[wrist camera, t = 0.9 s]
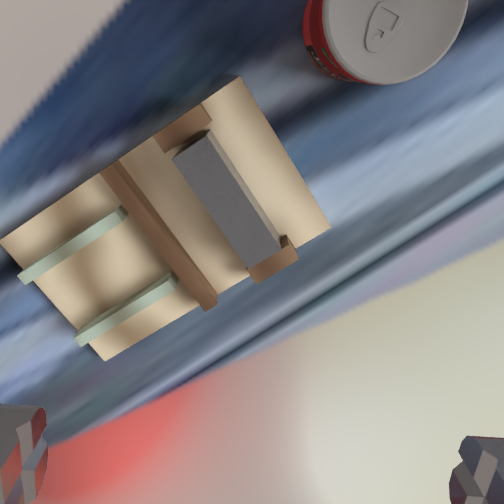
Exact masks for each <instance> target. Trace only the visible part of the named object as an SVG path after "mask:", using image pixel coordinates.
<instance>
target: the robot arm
mask: <svg viewBox="0 0 504 504" xmlns="http://www.w3.org/2000/svg"><path fill="white" fill-rule="evenodd" d="M46 426H47V421H46V411H45V410H44V409H43V408H42V407H35V406H24V405H13V404H1V403H0V504H29V503H30V502H32V501H33V500H34V499H36V497H37V495H38V493H39V491H40V489H41V486H42V484H43V480H44V477H45V473H46V469H47V461H48V444H47V443H46V442H45V441H44V439H43V438H42V437H41V435H42V433H43V431H44V430H45V428H46ZM458 452H459V454H460V456H461V458H462V459H463V461H462V462H461V463H460V464H459V465H458V466H457V467H455V468H454V469H453V470H452V474H451V478H450V482H449V492H450V501H451V504H504V438H495V437H480V436H466V437H465V439H464V440H463V441H462V443H461V446H460V449H459V451H458Z"/></svg>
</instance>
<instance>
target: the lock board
mask: <svg viewBox="0 0 504 504" xmlns="http://www.w3.org/2000/svg"><path fill="white" fill-rule="evenodd" d="M210 129H211V131H212V132H213V134H214V135H215V137H216V138H217V140H218V141H219V143H220V144H221V146H222V148H223V149H224V151H225V152H226V154H227V155H228V157H229V158H230V160H231V161H232V163H233V164H234V166H235V167H236V169H237V170H238V172H239V174H240V175H241V177H242V178H243V180H244V181H245V183H246V184H247V186H248V187H249V189H250V190H251V192H252V193H253V195H254V197H255V198H256V200H257V201H258V203H259V204H260V206H261V207H262V209H263V210H264V212H265V213H266V215H267V216H268V218H269V219H270V221H271V223H272V224H273V226H274V227H275V229H276V230H277V232H278V234H279V239H280V244H281V249H282V250H280V251H278V252H277V253H275V254H273V255H272V256H270V257H268V258H267V259H265V260H263V261H262V262H260V263H258V264H256V265H255V266H253V267H251V268H250V269H248V268H247V267H246V265H245V264H244V263H243V261H242V260H241V258H240V257H239V255H238V254H237V253H236V251H235V250H234V248H233V247H232V245H231V244H230V243H229V241H228V240H227V238H226V237H225V235H224V234H223V233H222V231H221V230H220V228H219V227H218V225H217V224H216V222H215V221H214V220H213V218H212V217H211V215H210V214H209V212H208V211H207V210H206V208H205V207H204V205H203V204H202V202H201V201H200V200H199V198H198V197H197V195H196V194H195V192H194V191H193V190H192V188H191V187H190V185H189V184H188V182H187V181H186V180H185V178H184V177H183V175H182V174H181V172H180V171H179V170H178V168H177V167H176V165H175V164H174V162H173V161H172V160H171V159H172V158H173V157H174V156H175V154H176V153H177V152H178V151H179V150H180V149H182V148H183V147H185V146H186V145H188V144H189V143H191V142H192V141H194V140H195V139H197V138H198V137H200V136H201V135H203V134H204V133H206V132H207V131H209V130H210ZM329 228H331V225H330V223H329V222H328V220H327V218H326V217H325V215H324V213H323V212H322V210H321V208H320V207H319V205H318V204H317V202H316V200H315V199H314V197H313V195H312V194H311V192H310V190H309V189H308V187H307V185H306V184H305V182H304V180H303V179H302V177H301V176H300V174H299V172H298V171H297V169H296V167H295V166H294V164H293V162H292V161H291V159H290V157H289V156H288V154H287V152H286V151H285V149H284V148H283V146H282V144H281V143H280V141H279V139H278V138H277V136H276V134H275V133H274V131H273V129H272V128H271V126H270V124H269V123H268V121H267V120H266V118H265V116H264V115H263V113H262V111H261V110H260V108H259V106H258V105H257V103H256V101H255V100H254V98H253V96H252V95H251V93H250V92H249V90H248V88H247V87H246V85H245V83H244V82H243V80H242V78H241V77H240V76H239V77H238V78H236V79H235V80H233V81H232V82H230V83H229V84H227V85H226V86H225V87H223V88H222V89H220V90H219V91H217V92H216V93H214V94H213V95H211V96H210V97H208V98H207V99H206V100H204V101H203V102H201V103H200V104H198V105H197V106H195V107H194V108H192V109H191V110H189V111H188V112H187V113H185V114H184V115H182V116H181V117H179V118H178V119H176V120H175V121H173V122H172V123H170V124H169V125H168V126H166V127H165V128H163V129H162V130H160V131H159V132H157V133H156V134H154V135H153V136H151V137H150V138H149V139H147V140H146V141H144V142H143V143H141V144H140V145H138V146H137V147H135V148H134V149H132V150H131V151H130V152H128V153H127V154H125V155H124V156H122V157H121V158H119V159H118V160H116V161H115V162H113V163H112V164H111V165H109V166H108V167H106V168H105V169H103V170H102V171H100V172H99V173H97V174H96V175H94V176H93V177H92V178H90V179H89V180H87V181H86V182H84V183H83V184H81V185H80V186H78V187H77V188H76V189H74V190H73V191H71V192H70V193H68V194H67V195H65V196H64V197H62V198H61V199H59V200H58V201H57V202H55V203H54V204H52V205H51V206H49V207H48V208H46V209H45V210H43V211H42V212H40V213H39V214H38V215H36V216H35V217H33V218H32V219H30V220H29V221H27V222H26V223H24V224H23V225H21V226H20V227H19V228H17V229H16V230H14V231H13V232H11V233H10V234H8V235H7V236H5V237H4V238H2V239H1V240H0V244H1V245H2V246H3V247H4V248H5V249H6V251H7V252H8V253H9V254H10V255H11V256H12V257H13V258H14V260H15V261H16V262H17V263H18V264H19V265H20V266H21V267H22V269H23V271H22V272H21V273H19V274H18V275H17V276H18V277H19V279H20V280H21V281H22V282H23V283H24V284H25V285H26V284H28V283H30V282H31V281H34V282H35V283H36V284H37V285H38V287H39V288H40V289H41V290H42V291H43V292H44V293H45V295H46V296H47V297H48V298H49V299H50V300H51V301H52V302H53V304H54V305H55V306H56V307H57V308H58V309H59V310H60V311H61V313H62V314H63V315H64V316H65V317H66V318H67V319H68V320H69V322H70V323H71V324H72V325H73V326H74V327H75V328H76V329H77V331H78V332H77V334H76V335H75V337H74V338H73V339H74V340H75V341H76V342H77V343H78V344H79V345H80V347H82V346H84V345H85V344H87V343H89V344H90V345H91V346H92V348H93V349H94V350H95V351H96V352H97V353H98V354H99V355H100V357H101V358H102V359H103V360H104V361H106V360H108V359H110V358H111V357H113V356H115V355H116V354H118V353H120V352H121V351H123V350H125V349H127V348H128V347H130V346H132V345H133V344H135V343H137V342H138V341H140V340H142V339H143V338H145V337H147V336H149V335H150V334H152V333H154V332H155V331H157V330H159V329H160V328H162V327H164V326H165V325H167V324H169V323H170V322H172V321H174V320H176V319H177V318H179V317H181V316H182V315H184V314H186V313H187V312H189V311H191V310H192V309H194V308H196V307H198V306H199V305H200V306H201V307H202V309H203V310H204V311H207V310H209V309H211V308H212V307H214V306H216V305H217V299H218V294H220V293H221V292H223V291H225V290H226V289H228V288H230V287H231V286H233V285H235V284H236V283H238V282H240V281H241V280H243V279H245V278H247V277H248V276H251V278H252V279H253V280H254V282H255V283H256V284H258V283H259V282H261V281H263V280H265V279H266V278H268V277H270V276H271V275H273V274H275V273H276V272H278V271H280V270H282V269H283V268H285V267H287V266H288V265H290V264H292V263H294V262H295V261H297V260H299V259H298V255H297V252H296V248H297V247H299V246H301V245H302V244H304V243H306V242H307V241H309V240H311V239H312V238H314V237H316V236H318V235H319V234H321V233H323V232H324V231H326V230H328V229H329Z"/></svg>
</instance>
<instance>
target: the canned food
mask: <svg viewBox="0 0 504 504" xmlns="http://www.w3.org/2000/svg"><path fill="white" fill-rule="evenodd" d="M467 7H468V0H308V2H307V5H306V8H305V12H304V17H303V38H304V44H305V47H306V49H307V52H308V55H309V56H310V58H311V60H312V61H313V63H314V64H315V65H316V66H317V67H318V68H319V69H320V70H321V71H322V72H323V73H325V74H326V75H328V76H330V77H332V78H335V79H338V80H343V81H351V82H359V83H367V84H375V85H386V84H396V83H400V82H403V81H407V80H410V79H412V78H414V77H416V76H418V75H420V74H422V73H424V72H426V71H427V70H428V69H430V68H431V67H432V66H433V65H435V64H436V63H437V62H438V61H439V60H440V59H441V58H442V57H443V56H444V55H445V54H446V53H447V51H448V50H449V48H450V47H451V45H452V44H453V42H454V41H455V39H456V38H457V35H458V33H459V31H460V29H461V27H462V25H463V22H464V18H465V15H466V11H467Z"/></svg>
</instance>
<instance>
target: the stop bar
mask: <svg viewBox="0 0 504 504" xmlns="http://www.w3.org/2000/svg"><path fill="white" fill-rule="evenodd" d="M171 160H172V161H173V162H174V164H175V165H176V167H177V168H178V170H179V171H180V172H181V174H182V175H183V177H184V178H185V180H186V181H187V182H188V184H189V185H190V187H191V188H192V190H193V191H194V192H195V194H196V195H197V197H198V198H199V200H200V201H201V202H202V204H203V205H204V207H205V208H206V210H207V211H208V212H209V214H210V215H211V217H212V218H213V220H214V221H215V222H216V224H217V225H218V227H219V228H220V230H221V231H222V233H223V234H224V235H225V237H226V238H227V240H228V241H229V243H230V244H231V245H232V247H233V248H234V250H235V251H236V253H237V254H238V255H239V257H240V258H241V260H242V261H243V263H244V264H245V265H246V267H247V268H248V269H250V268H251V267H253V266H255V265H256V264H258V263H260V262H262V261H263V260H265V259H267V258H268V257H270V256H272V255H273V254H275V253H277V252H278V251H280V250H282V249H281V244H280V239H279V234H278V232H277V230H276V229H275V227H274V226H273V224H272V223H271V221H270V219H269V218H268V216H267V215H266V213H265V212H264V210H263V209H262V207H261V206H260V204H259V203H258V201H257V200H256V198H255V197H254V195H253V193H252V192H251V190H250V189H249V187H248V186H247V184H246V183H245V181H244V180H243V178H242V177H241V175H240V174H239V172H238V170H237V169H236V167H235V166H234V164H233V163H232V161H231V160H230V158H229V157H228V155H227V154H226V152H225V151H224V149H223V148H222V146H221V144H220V143H219V141H218V140H217V138H216V137H215V135H214V134H213V132H212V131H211V129H210V130H209V131H207V132H206V133H204V134H203V135H201V136H200V137H198V138H197V139H195V140H194V141H192V142H191V143H189V144H188V145H186V146H185V147H183V148H182V149H180V150H179V151H178V152H177V153H176V154H175V156H174V157H173V158H172V159H171Z"/></svg>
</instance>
